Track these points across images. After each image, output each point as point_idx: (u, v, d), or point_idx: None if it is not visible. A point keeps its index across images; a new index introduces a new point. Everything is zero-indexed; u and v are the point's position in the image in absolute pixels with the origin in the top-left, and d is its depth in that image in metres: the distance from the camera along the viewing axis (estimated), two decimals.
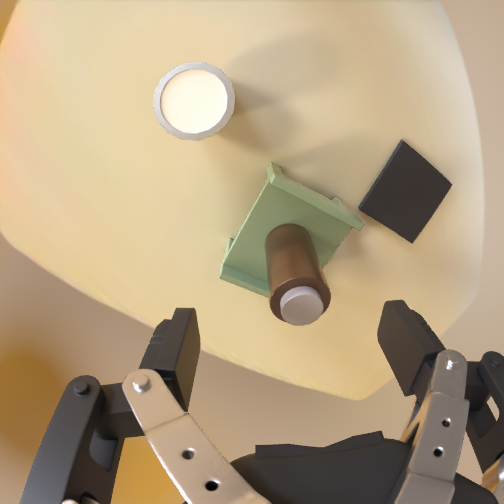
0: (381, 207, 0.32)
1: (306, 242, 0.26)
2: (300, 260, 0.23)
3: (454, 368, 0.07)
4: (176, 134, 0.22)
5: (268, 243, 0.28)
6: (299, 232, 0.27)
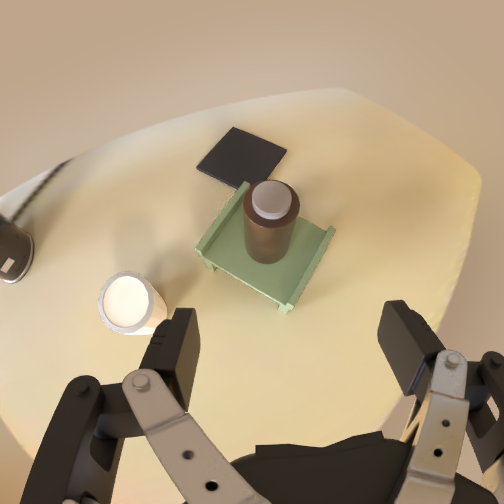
0: (251, 178, 0.41)
1: None
2: None
3: (454, 368, 0.07)
4: (146, 319, 0.27)
5: (256, 256, 0.30)
6: None
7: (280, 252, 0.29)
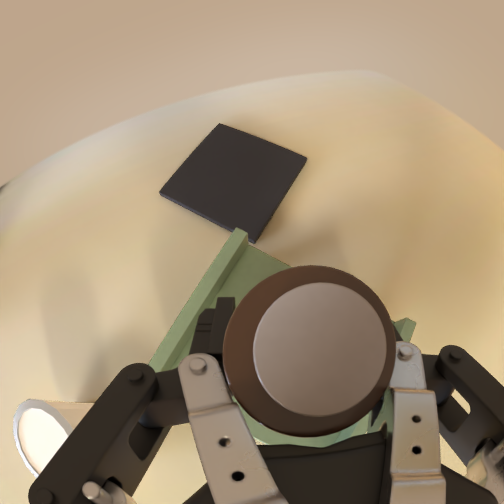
0: (251, 209, 0.24)
1: None
2: None
3: (406, 360, 0.07)
4: None
5: None
6: None
7: None
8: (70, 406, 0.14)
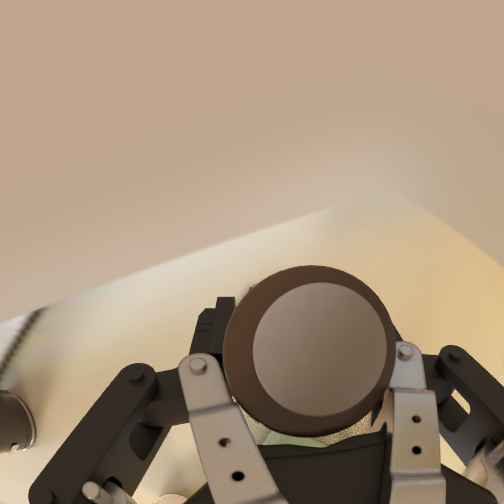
0: None
1: None
2: None
3: (405, 360, 0.07)
4: None
5: None
6: None
7: None
8: None
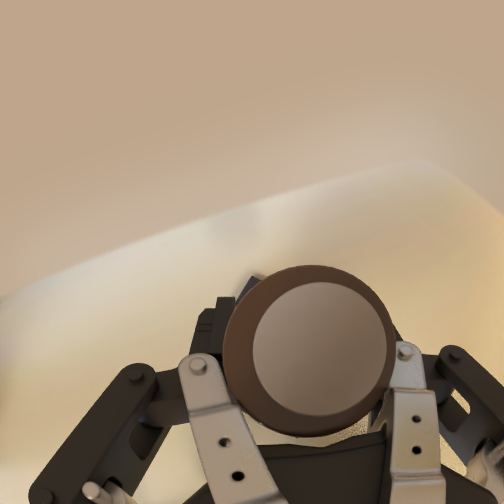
0: None
1: None
2: None
3: (405, 360, 0.07)
4: None
5: None
6: None
7: None
8: None
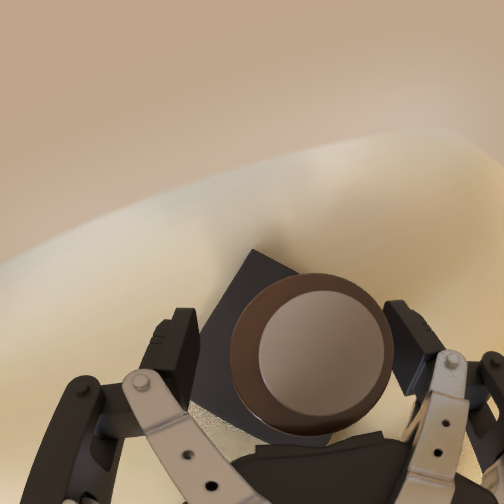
0: None
1: None
2: None
3: (454, 368, 0.07)
4: None
5: None
6: None
7: None
8: None
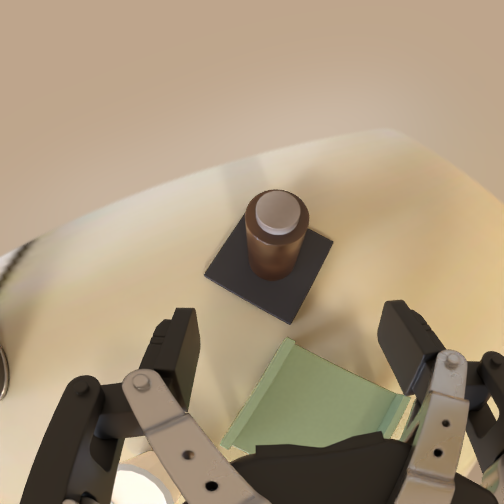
0: (287, 295, 0.28)
1: None
2: None
3: (454, 368, 0.07)
4: None
5: (261, 273, 0.27)
6: None
7: (287, 268, 0.26)
8: (150, 462, 0.19)
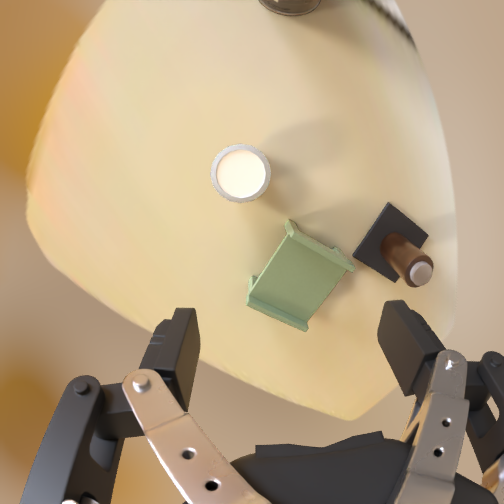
0: (370, 254, 0.43)
1: (411, 242, 0.38)
2: (416, 248, 0.35)
3: (454, 368, 0.07)
4: (226, 197, 0.33)
5: (386, 243, 0.40)
6: (404, 237, 0.39)
7: (387, 261, 0.40)
8: None
